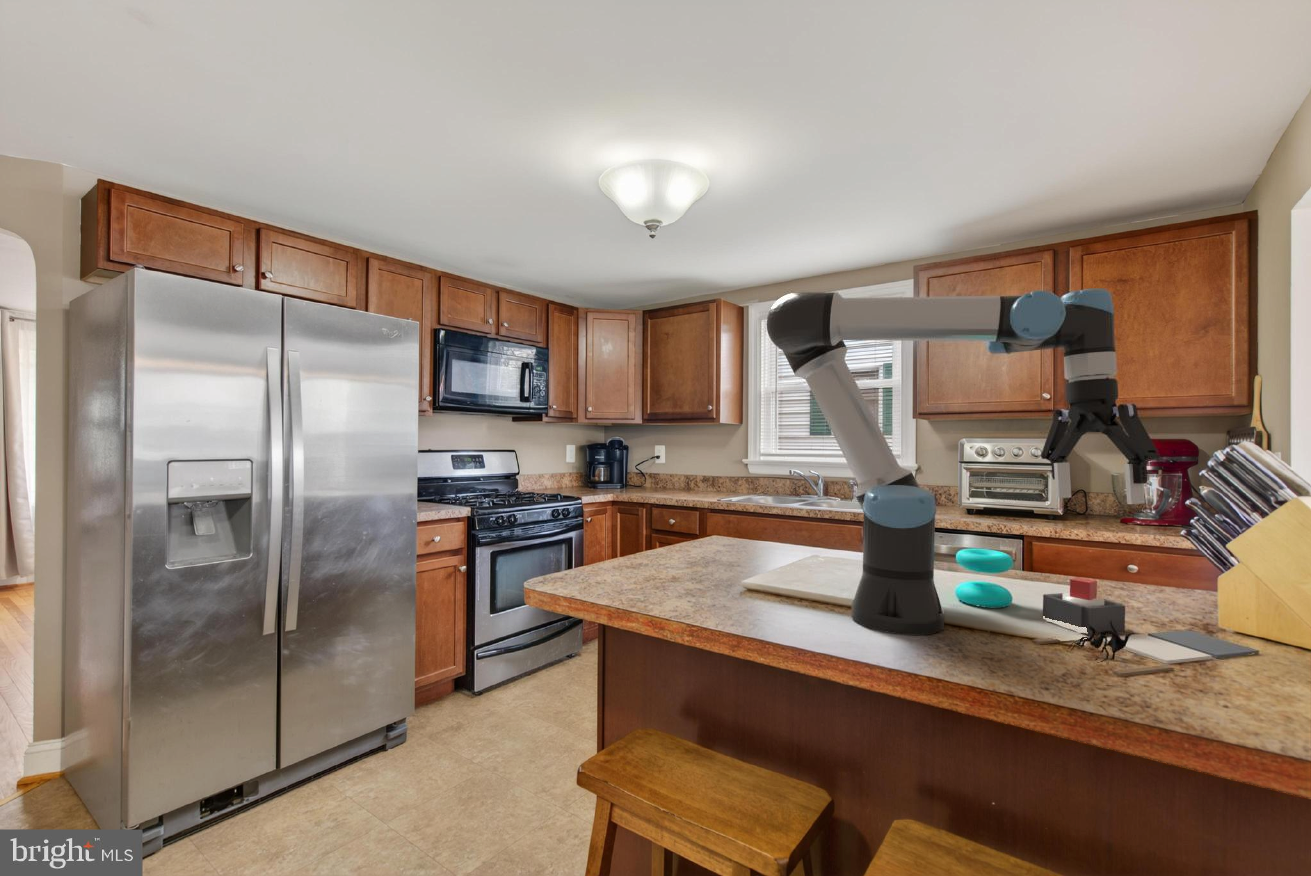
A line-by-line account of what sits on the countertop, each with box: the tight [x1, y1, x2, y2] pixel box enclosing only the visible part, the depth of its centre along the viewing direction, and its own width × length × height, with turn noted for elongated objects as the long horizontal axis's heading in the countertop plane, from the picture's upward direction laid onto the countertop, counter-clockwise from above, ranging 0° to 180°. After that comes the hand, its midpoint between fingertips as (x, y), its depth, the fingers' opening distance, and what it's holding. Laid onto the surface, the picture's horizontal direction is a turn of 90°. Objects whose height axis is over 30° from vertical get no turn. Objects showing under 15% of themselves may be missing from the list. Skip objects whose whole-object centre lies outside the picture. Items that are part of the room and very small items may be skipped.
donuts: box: [954, 548, 1014, 608], centre depth 121 cm, size 10×10×10 cm
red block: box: [1062, 576, 1105, 607], centre depth 107 cm, size 6×6×6 cm
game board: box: [1032, 592, 1260, 677], centre depth 100 cm, size 30×23×4 cm
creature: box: [1067, 621, 1135, 664], centre depth 93 cm, size 8×5×8 cm
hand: (1097, 500), depth 107 cm, fingers open, 13 cm apart
